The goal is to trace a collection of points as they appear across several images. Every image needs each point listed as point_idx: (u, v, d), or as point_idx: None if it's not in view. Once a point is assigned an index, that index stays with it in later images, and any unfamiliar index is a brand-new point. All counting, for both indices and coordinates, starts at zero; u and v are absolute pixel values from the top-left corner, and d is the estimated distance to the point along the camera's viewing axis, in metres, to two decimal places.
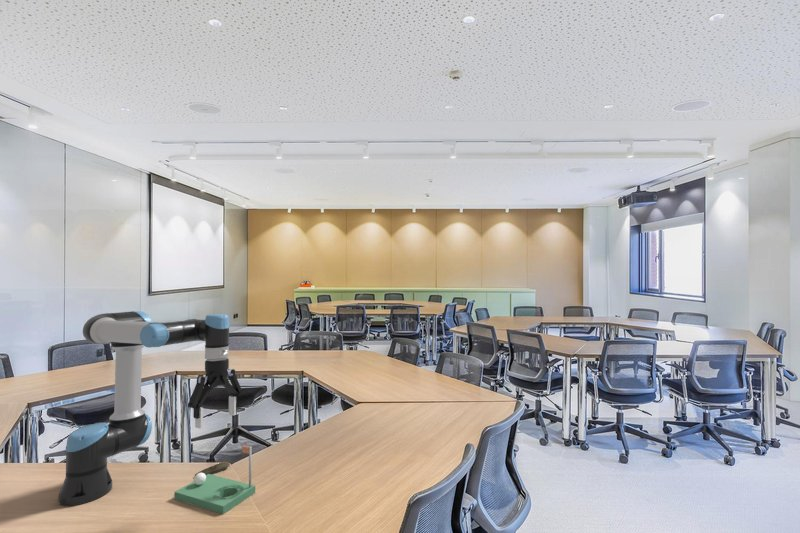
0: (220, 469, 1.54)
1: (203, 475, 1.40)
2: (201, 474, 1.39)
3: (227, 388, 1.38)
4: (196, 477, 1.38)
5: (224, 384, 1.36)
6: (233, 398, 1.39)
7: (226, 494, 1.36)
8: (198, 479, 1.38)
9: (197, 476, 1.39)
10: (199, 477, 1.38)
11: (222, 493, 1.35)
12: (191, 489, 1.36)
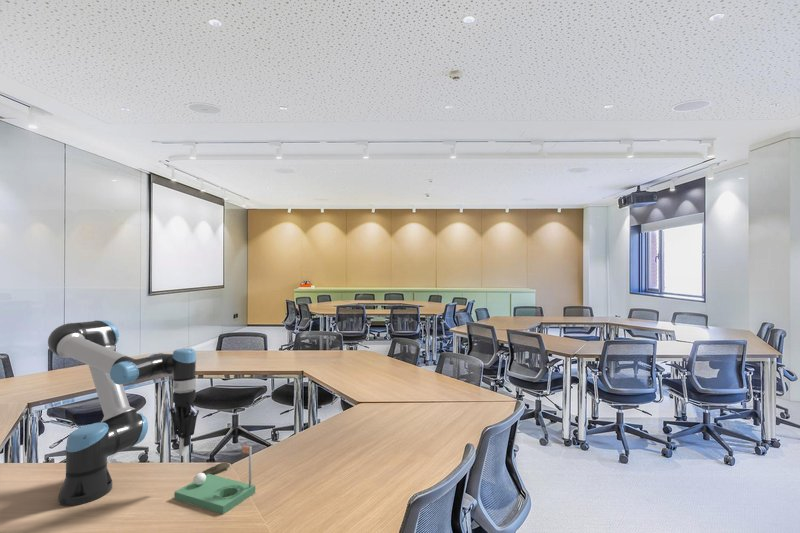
0: (221, 470, 1.54)
1: (203, 475, 1.40)
2: (201, 474, 1.39)
3: None
4: (196, 477, 1.38)
5: None
6: None
7: (226, 494, 1.36)
8: (198, 479, 1.38)
9: (197, 476, 1.39)
10: (199, 477, 1.38)
11: (222, 493, 1.35)
12: (191, 489, 1.36)
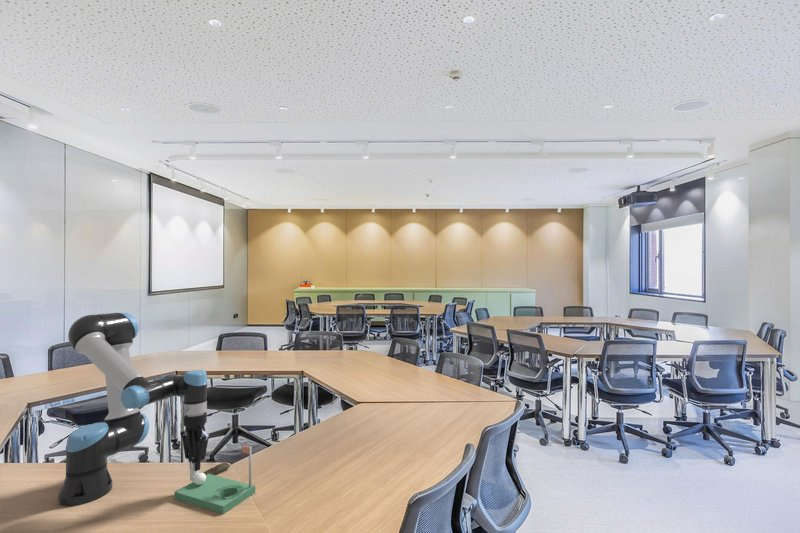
0: (221, 470, 1.54)
1: (203, 475, 1.40)
2: (201, 474, 1.39)
3: None
4: (196, 477, 1.38)
5: None
6: None
7: (226, 494, 1.36)
8: (198, 479, 1.38)
9: (197, 476, 1.39)
10: (199, 477, 1.38)
11: (222, 493, 1.35)
12: (191, 489, 1.36)
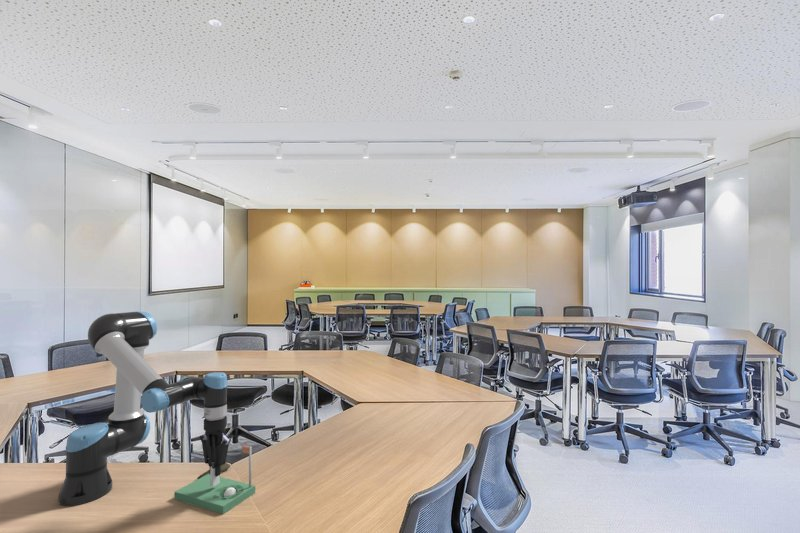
0: (222, 470, 1.53)
1: None
2: None
3: None
4: None
5: None
6: None
7: None
8: None
9: None
10: None
11: (222, 493, 1.35)
12: (191, 489, 1.36)
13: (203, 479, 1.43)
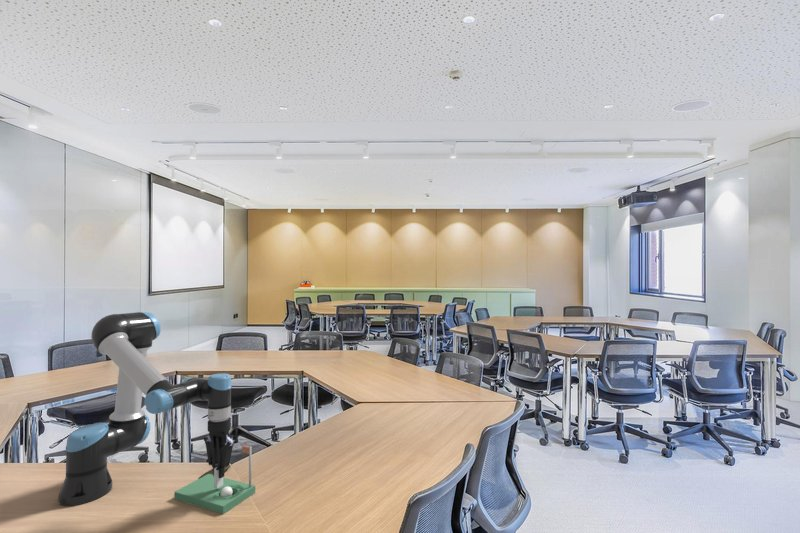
0: None
1: (231, 493, 1.34)
2: (229, 491, 1.34)
3: None
4: (224, 493, 1.33)
5: None
6: None
7: None
8: (225, 496, 1.33)
9: (225, 492, 1.33)
10: (227, 494, 1.33)
11: None
12: (191, 489, 1.36)
13: (203, 479, 1.43)
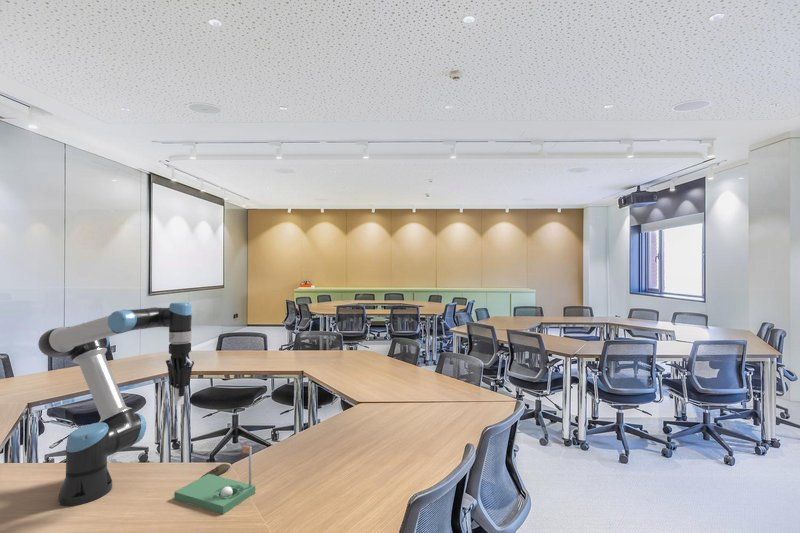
0: (223, 471, 1.53)
1: (231, 493, 1.34)
2: (230, 491, 1.34)
3: None
4: (225, 493, 1.33)
5: None
6: None
7: None
8: (225, 496, 1.33)
9: (225, 492, 1.33)
10: (227, 494, 1.33)
11: None
12: (191, 489, 1.36)
13: (203, 479, 1.43)
